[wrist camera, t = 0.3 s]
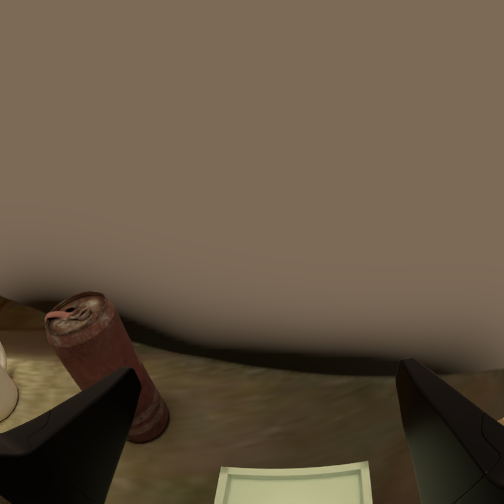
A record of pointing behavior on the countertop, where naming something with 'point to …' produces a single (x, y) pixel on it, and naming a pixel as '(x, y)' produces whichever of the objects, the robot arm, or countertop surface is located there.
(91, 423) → the robot arm
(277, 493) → the tray
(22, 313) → the countertop surface
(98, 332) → the can
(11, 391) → the mug
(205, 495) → the countertop surface
